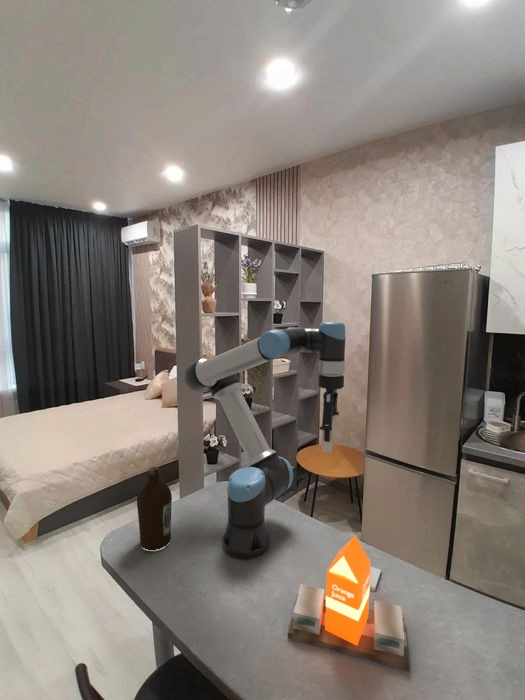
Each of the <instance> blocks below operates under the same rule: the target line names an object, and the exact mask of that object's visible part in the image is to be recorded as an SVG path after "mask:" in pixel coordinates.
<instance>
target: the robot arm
mask: <svg viewBox="0 0 525 700" xmlns="http://www.w3.org/2000/svg"><path fill="white" fill-rule="evenodd" d="M346 339H347V336H346V325H345V324H344V323H343V322H341V321H338V322H337V321H333V322H332V321H321V323H319V326H318V327H314V328H311V327H299V326H296V327H295V326H292V327H287V328H284V329H281V328H280V329H276V328H275V329H270V330H268V331H264V332H263V333H262V335H261V336H259V337H257V338H254V339H252V340H249V341H248V342H245V343H243V344H241V345H239V346H237V347H234V348H232V349H230V350H227V351H225V352H222V353H221V354H218V355H215V356H213V357H211V358H201V359H199V360H195V361H193V362H191V363H189V364H188V365H187V366H186V368H185V369H184V374H183V379H184V383H185V384H186V386H187V387H188V389H190V390H191V391H192V392H195V393H198V394H201V393H207V392H209V393H210V394H211V396H212V398H213V399H215V400H218V401H219V403H220V405H221V407H222V409H223V411H224V414H225V415H226V417H227V419H228V421H229V424H230V425H231V428H232V430H233V432H234V433H235V437H236V438H237V440H238V442H239V445H240V446H241V448H242V451H244V454H245V456H246V459H247V461H248V462H247V465H246V467H245V468H244V467H242V468H238V469H237V470H235V471H234V472H232V473H231V474H230V476H229V478H228V480H227V481H228V482H227V491H226V493H227V523H226V527H225V529H224V533H223V536H222V549H223V548H224V549H223V550H225V551H224V552H225V553H226V554H227V555H228V556H230V557H232V558H234V559H238V560H254V559H257V558H259V557H262V556H263V555H264V554H266V553H267V551H269V549H270V546H271V545H270V544H271V535H270V532H269V530H268V527H267V523H266V521H265V520H266V519H265V511H266V510H265V507H266V506H267V505H268V504H270V503H271V502H273V501H274V500H275V499H277V498H278V497H279V496H280V495H281V496H282V495H283V494H285V493H286V491H287V490H288V489H290V487H291V485H292V484H293V481H294V470H293V467H292V465H291V463H290V462H289V461H288V460H287V459H286V458H284V456H283V457H282V456H279V454H278V452H277V450H274V449H271V448H270V446H269V444H268V442H267V440H266V438H265V436H264V435H263V432H262V430H261V429H260V425H258V423H257V420H256V419H255V417H254V415H253V413H252V411H251V409H250V406H249V405H248V403H247V401H246V399H245V396H244V395H243V393H242V391H241V387H242V382H241V379H242V375H241V374H242V372H244V371H246V370H249V369H251V368H255V367H256V366H259V365H261V364H264V363H267V362H270V361H274V360H276V359H278V358H281V357H285V356H289V355H294V354H299V353H311V354H312V353H313V354H318V362H316V365H317V366H319V367H318V373H319V374H318V377H317V378H318V387H319V388H321V389H325V391H324V393H323V396H322V397H323V404H322V407H323V410H322V424H321V426H319V430H322V435H321V436H322V437H321V442H322V443H321V452H324V453H332V452H333V437H337V420H338V419H337V418H338V417H337V416H339V414H340V412H339V411H338V398H339V392H338V390H341V389H343V388H344V387H345V376H344V374H345V367H346V360H345V359H346V358H345V357H346V356H345V353H346V352H345V351H346Z"/></svg>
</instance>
